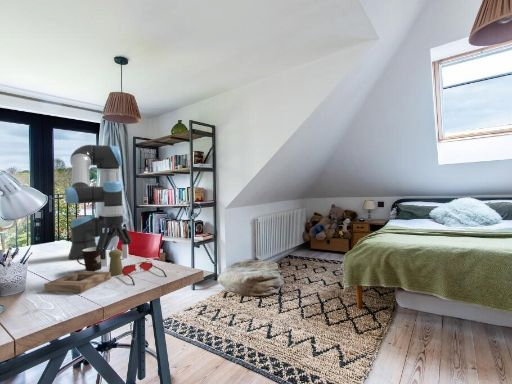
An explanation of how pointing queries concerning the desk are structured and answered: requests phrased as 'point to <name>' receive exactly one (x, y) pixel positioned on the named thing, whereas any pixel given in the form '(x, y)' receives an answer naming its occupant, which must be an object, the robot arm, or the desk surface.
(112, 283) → the desk surface
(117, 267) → the cork
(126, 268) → the glasses
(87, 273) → the socket block
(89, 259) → the coffee mug
